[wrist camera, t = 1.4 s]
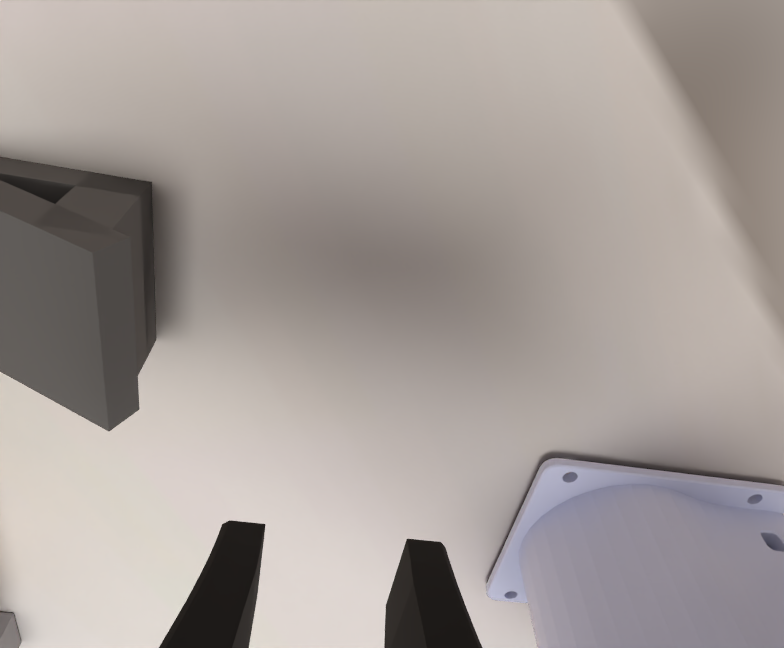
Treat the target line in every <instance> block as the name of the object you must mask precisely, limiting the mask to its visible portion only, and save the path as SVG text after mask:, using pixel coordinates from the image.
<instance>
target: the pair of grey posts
mask: <svg viewBox="0 0 784 648" xmlns="http://www.w3.org/2000/svg"><path fill="white" fill-rule="evenodd" d="M20 644H21V640H20V636H19V632H18V628H17V625H16V621H15V617H14V613H4V612H0V648H19V646H20Z"/></svg>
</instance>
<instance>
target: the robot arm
mask: <svg viewBox="0 0 784 648" xmlns="http://www.w3.org/2000/svg"><path fill="white" fill-rule="evenodd" d="M568 472H571V473H569V474H566V473H568ZM783 513H784V486H782V485H774V484H766V483H758V482H750V481H741V480H733V479H725V478H717V477H709V476H701V475H692V474H684V473H676V472H668V471H660V470H652V469H643V468H635V467H627V466H619V465H611V464H603V463H594V462H586V461H578V460H570V459H562V458H552V459H548V460H547V461H545V462H543V463H542V465H541V466H540V468H539V470H538V472H537V475H536V477H535V479H534V481H533V483H532V486H531V488H530V490H529V492H528V494H527V497H526V499H525V501H524V503H523V505H522V507H521V510H520V512H519V514H518V516H517V518H516V521H515V523H514V525H513V527H512V529H511V531H510V534H509V536H508V538H507V540H506V542H505V545H504V547H503V549H502V551H501V553H500V556H499V558H498V560H497V562H496V564H495V566H494V569H493V571H492V573H491V575H490V577H489V580H488V582H487V584H486V593H487V596H488V597H489V598H491V599H493V600H499V601H510V602H520V603H528V606H529V610H530V615H531V619H532V624H533V629H534V633H535V638H536V642H537V647H538V648H784V515H783ZM264 532H265V524H258V523H248V522H238V521H228V522H226V523H224V524H222V527H221V529H220V532H219V535H218V537H217V540H216V542H215V545H214V547H213V549H212V551H211V554H210V556H209V558H208V560H207V562H206V564H205V566H204V568H203V570H202V572H201V574H200V576H199V578H198V580H197V582H196V584H195V586H194V588H193V590H192V591H191V593H190V595H189V597H188V599H187V601H186V603H185V604H184V606H183V608H182V609H181V611H180V613H179V614H178V616H177V618H176V620H175V621H174V623H173V625H172V626H171V628H170V630H169V632H168V633H167V635H166V637H165V638H164V640H163V642H162V644H161V645H160V647H159V648H249V642H250V636H251V630H252V624H253V618H254V611H255V605H256V599H257V593H258V584H259V576H260V567H261V558H262V549H263V541H264ZM385 648H482V646H481V644H480V641H479V639H478V636H477V634H476V632H475V629H474V627H473V624H472V622H471V619H470V616H469V614H468V611H467V609H466V606H465V604H464V601H463V598H462V596H461V593H460V590H459V587H458V585H457V582H456V579H455V576H454V573H453V570H452V567H451V564H450V561H449V558H448V555H447V551H446V548H445V546H444V545H443V544H442V543H441V542H434V541H424V540H414V539H407V541H406V544H405V547H404V550H403V553H402V556H401V560H400V563H399V566H398V569H397V572H396V575H395V579H394V582H393V585H392V588H391V591H390V594H389V598H388V601H387V604H386V619H385Z"/></svg>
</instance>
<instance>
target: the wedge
mask: <svg viewBox="0 0 784 648" xmlns="http://www.w3.org/2000/svg"><path fill="white" fill-rule="evenodd" d="M155 341H156V317H155V282H154V247H153V213H152V182H147V181H141V180H135V179H129V178H123V177H117V176H111V175H105V174H99V173H93V172H87V171H81V170H75V169H69V168H63V167H57V166H51V165H45V164H39V163H33V162H27V161H21V160H15V159H9V158H2V157H0V372H2V373H4V374H6V375H8V376H9V377H11V378H13V379H15V380H17V381H18V382H20V383H22V384H24V385H26V386H27V387H29V388H31V389H33V390H35V391H37V392H38V393H40V394H42V395H44V396H46V397H47V398H49V399H51V400H53V401H55V402H56V403H58V404H60V405H62V406H64V407H66V408H67V409H69V410H71V411H73V412H75V413H76V414H78V415H80V416H82V417H84V418H85V419H87V420H89V421H91V422H93V423H94V424H96V425H98V426H100V427H102V428H104V429H105V430H107V431H110V430H112V429H113V428H114V427H116V426H117V425H118V424H120V423H121V422H123V421H124V420H125V419H127V418H128V417H129V416H131V415H132V414H134V413H135V412H136V411H138V410H139V394H138V374H139V372H140V370H141V368H142V366H143V364H144V363H145V361H146V359H147V357H148V355H149V353H150V351H151V349H152V347H153V345H154V343H155Z"/></svg>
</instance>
